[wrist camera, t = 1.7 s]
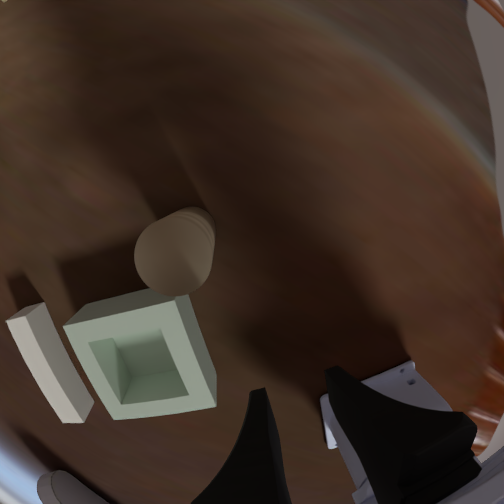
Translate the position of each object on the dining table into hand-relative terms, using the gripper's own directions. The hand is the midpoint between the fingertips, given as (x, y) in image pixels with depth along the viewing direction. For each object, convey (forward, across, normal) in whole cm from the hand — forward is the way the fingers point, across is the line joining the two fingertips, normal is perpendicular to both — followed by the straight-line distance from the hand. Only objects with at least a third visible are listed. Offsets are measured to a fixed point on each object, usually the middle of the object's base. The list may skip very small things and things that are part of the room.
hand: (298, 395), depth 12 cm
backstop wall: (+9, +18, 0) cm, 20 cm away
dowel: (+9, +4, -7) cm, 12 cm away
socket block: (+9, +9, 0) cm, 13 cm away
